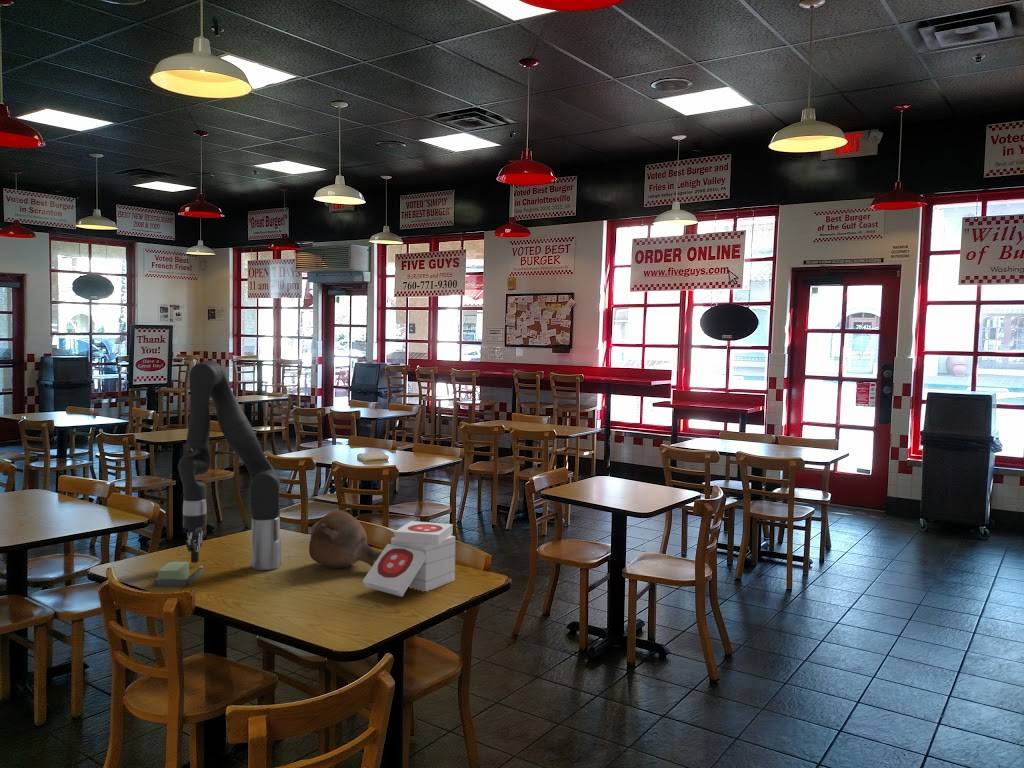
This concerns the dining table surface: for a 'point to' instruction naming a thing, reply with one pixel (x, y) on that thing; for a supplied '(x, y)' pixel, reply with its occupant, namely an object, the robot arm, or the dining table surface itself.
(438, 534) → the pizza boxes
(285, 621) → the dining table surface
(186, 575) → the pale green block
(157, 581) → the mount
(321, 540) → the jug
